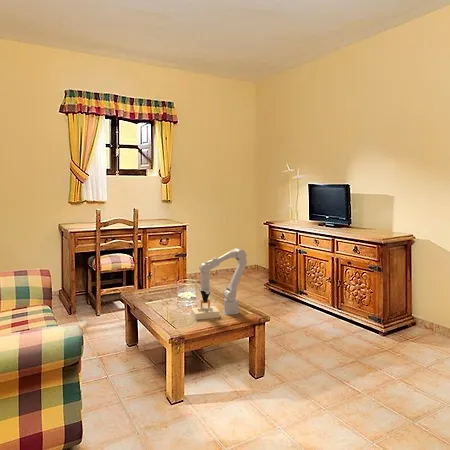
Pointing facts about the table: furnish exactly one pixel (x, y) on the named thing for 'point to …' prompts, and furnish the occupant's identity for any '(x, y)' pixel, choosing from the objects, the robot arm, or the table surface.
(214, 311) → the cream frame with crossbar
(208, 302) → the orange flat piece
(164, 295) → the table surface
